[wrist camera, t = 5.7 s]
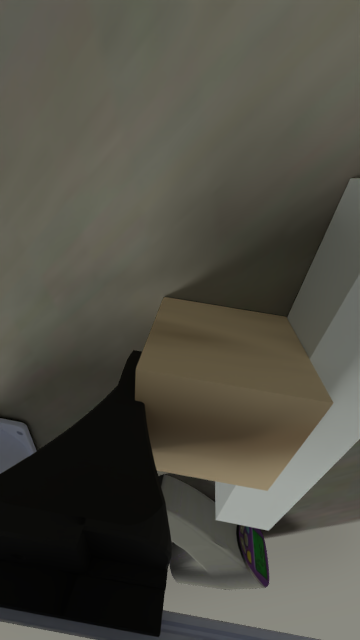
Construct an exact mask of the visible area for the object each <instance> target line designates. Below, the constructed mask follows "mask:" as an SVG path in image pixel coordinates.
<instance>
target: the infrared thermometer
mask: <svg viewBox="0 0 360 640" xmlns="http://www.w3.org/2000/svg"><path fill="white" fill-rule="evenodd" d="M158 478H159V481H160V485H161V488H162V492H163V495H164V499H165V503H166V510H167V515H168V522H169V528H170V534H171V541H172V542H173V543H172V556H171V560H170V569H171V573H172V576H173V578H174V579H175V581H176V582H177V583H181V584H188V585H195V586H203V587H211V588H217V589H224V590H231V589H254V588H255V589H256V588H266V587H267V586H268V584H269V567H268V558H267V550H266V545H265V541H264V537H263V534H262V532H261V530H259V529H258V528H253V527H248V526H243V525H238V524H233V523H228V522H223V521H218V520H216V513H215V502H214V501H213V500H211V499H210V498H208V497H207V496H206V495H204V494H203V493H201V492H200V491H198V490H197V489H195V488H193V487H192V486H190V485H188V484H186V483H184V482H182V481H180V480H178V479H176V478H173V477H171V476H168V475H165V474H163V475H161V476H158Z"/></svg>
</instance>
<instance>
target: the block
mask: <svg viewBox="0 0 360 640" xmlns="http://www.w3.org/2000/svg"><path fill="white" fill-rule="evenodd" d="M135 401H141V402H143V403H144V404H145V413H146V420H147V427H148V433H149V438H150V443H151V448H152V453H153V457H154V462H155V466H156V470H157V471H162V472H168V473H173V474H178V475H184V476H189V477H195V478H200V479H206V480H211V481H216V482H222V483H227V484H233V485H238V486H243V487H249V488H254V489H260V490H265V491H268V490H269V488H270V487H271V486H272V484H273V483H274V482H275V480H276V479H277V478H278V476H279V475H280V474H281V472H282V471H283V470H284V468H285V467H286V466H287V464H288V463H289V462H290V460H291V459H292V458H293V456H294V455H295V454H296V452H297V451H298V450H299V448H300V447H301V446H302V444H303V443H304V442H305V440H306V439H307V438H308V436H309V435H310V434H311V432H312V431H313V430H314V428H315V427H316V426H317V425H318V423H319V422H320V421H321V419H322V418H323V417H324V415H325V414H326V413H327V411H328V410H329V409H330V407H331V406H332V405H333V401H332V399H331V397H330V396H329V394H328V392H327V390H326V388H325V386H324V385H323V383H322V381H321V379H320V377H319V376H318V374H317V372H316V370H315V368H314V366H313V365H312V363H311V361H310V359H309V357H308V355H307V354H306V352H305V350H304V348H303V346H302V344H301V343H300V341H299V339H298V337H297V335H296V333H295V332H294V330H293V328H292V326H291V324H290V323H289V321H288V319H287V317H284V316H278V315H272V314H266V313H260V312H254V311H248V310H242V309H235V308H229V307H223V306H217V305H211V304H205V303H199V302H192V301H186V300H180V299H174V298H168V297H163V300H162V303H161V305H160V308H159V310H158V313H157V315H156V318H155V321H154V323H153V326H152V328H151V331H150V333H149V336H148V339H147V341H146V344H145V346H144V349H143V351H142V354H141V357H140V359H139V362H138V364H137V367H136V377H135Z"/></svg>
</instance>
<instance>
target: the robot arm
mask: <svg viewBox="0 0 360 640" xmlns="http://www.w3.org/2000/svg"><path fill="white" fill-rule="evenodd" d="M141 354H142V352H141V351H135V350H133V352H132V353H131V355H130V356H129V358H128V360H127V362H126V364H125V367H124V370H123V373H122V375H121V378H120V381H119V384H118V386H117V387H116V388H115V389H114V390H113V391H112V392H111V393H110V394H109V395H108V396H107V397H106V398H105V399H104V400H103V401H102V402H100V403H99V404H98V405H97V406H96V407H95V408H94V409H93V410H91V411H90V412H89V413H88V414H87V415H86V416H84V417H83V418H82V419H81V420H79V421H78V422H77V423H76V424H74V425H73V426H72V427H71V428H69V429H68V430H67V431H65V432H64V433H62V434H61V435H60V436H58V437H57V438H55V439H54V440H52V441H51V442H50V443H48V444H47V445H45V446H44V447H42V448H41V449H39V450H38V451H36V448H35V446H34V443H33V440H32V438H31V435H30V433H29V430H28V427H27V425H26V424H24V423H22V422H18V421H13V420H8V419H2V418H0V621H1V622H7V623H12V624H17V625H23V626H27V627H33V628H38V629H43V630H49V631H54V632H59V633H64V634H69V635H75V636H80V637H85V638H90V639H96V640H319V639H314V638H309V637H304V636H298V635H293V634H288V633H282V632H277V631H271V630H266V629H261V628H256V627H250V626H245V625H239V624H234V623H229V622H223V621H218V620H212V619H207V618H202V617H197V616H191V615H186V614H180V613H175V612H169V611H164V610H163V602H164V593H165V588H166V580H167V569H168V566H169V563H170V560H171V556H172V542H171V534H170V528H169V522H168V515H167V510H166V503H165V499H164V495H163V492H162V488H161V485H160V481H159V478H158V474H157V470H156V466H155V462H154V457H153V453H152V448H151V443H150V438H149V433H148V427H147V420H146V413H145V404H144V403H143V402H141V401H135V377H136V367H137V364H138V362H139V359H140V357H141Z"/></svg>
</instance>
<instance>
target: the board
mask: <svg viewBox="0 0 360 640" xmlns="http://www.w3.org/2000/svg"><path fill="white" fill-rule="evenodd" d="M287 319H288V321H289V323H290V324H291V326H292V328H293V330H294V332H295V333H296V335H297V337H298V339H299V341H300V343H301V344H302V346H303V348H304V350H305V352H306V354H307V355H308V357H309V359H310V361H311V363H312V365H313V366H314V368H315V370H316V372H317V374H318V376H319V377H320V379H321V381H322V383H323V385H324V386H325V388H326V390H327V392H328V394H329V396H330V397H331V399H332V401H333V405H332V406H331V407H330V409H329V410H328V411H327V413H326V414H325V415H324V417H323V418H322V419H321V421H320V422H319V423H318V425H317V426H316V427H315V428H314V430H313V431H312V432H311V434H310V435H309V436H308V438H307V439H306V440H305V442H304V443H303V444H302V446H301V447H300V448H299V450H298V451H297V452H296V454H295V455H294V456H293V458H292V459H291V460H290V462H289V463H288V464H287V466H286V467H285V468H284V470H283V471H282V472H281V474H280V475H279V476H278V478H277V479H276V480H275V482H274V483H273V484H272V486H271V487H270V488H269V490H268V491H265V490H260V489H254V488H249V487H243V486H238V485H233V484H227V483H222V482H216V481H215V513H216V520H218V521H223V522H228V523H233V524H238V525H243V526H248V527H253V528H258V529H263V530H268V531H269V530H270V529H271V528H272V527H273V526H274V525H275V524H276V523H277V522H278V521H279V520H280V519H281V518H282V517H283V516H284V515H285V514H286V513H287V512H288V511H289V510H290V509H291V508H292V507H293V506H294V505H295V504H296V503H297V502H298V501H299V500H300V498H301V497H302V496H303V495H304V494H305V493H306V492H307V491H308V490H309V489H310V488H311V487H312V486H313V485H314V484H315V483H316V482H317V481H318V480H319V479H320V478H321V477H322V476H323V475H324V474H325V473H326V472H327V471H328V470H329V469H330V468H331V467H332V466H333V465H334V464H335V463H336V462H337V461H338V460H339V459H340V458H341V457H342V456H343V455H344V454H345V453H346V452H347V451H348V450H349V449H350V448H351V447H352V446H353V445H354V444H355V443H356V442H357V441H358V440H359V439H360V178H350V180H349V183H348V185H347V187H346V189H345V191H344V194H343V196H342V198H341V200H340V202H339V205H338V207H337V209H336V211H335V213H334V216H333V218H332V220H331V222H330V224H329V227H328V229H327V231H326V233H325V235H324V238H323V240H322V242H321V244H320V246H319V249H318V251H317V253H316V255H315V257H314V260H313V262H312V264H311V266H310V268H309V271H308V273H307V275H306V277H305V279H304V282H303V284H302V286H301V288H300V290H299V293H298V295H297V297H296V299H295V301H294V304H293V306H292V308H291V310H290V312H289V315H288V317H287Z"/></svg>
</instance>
